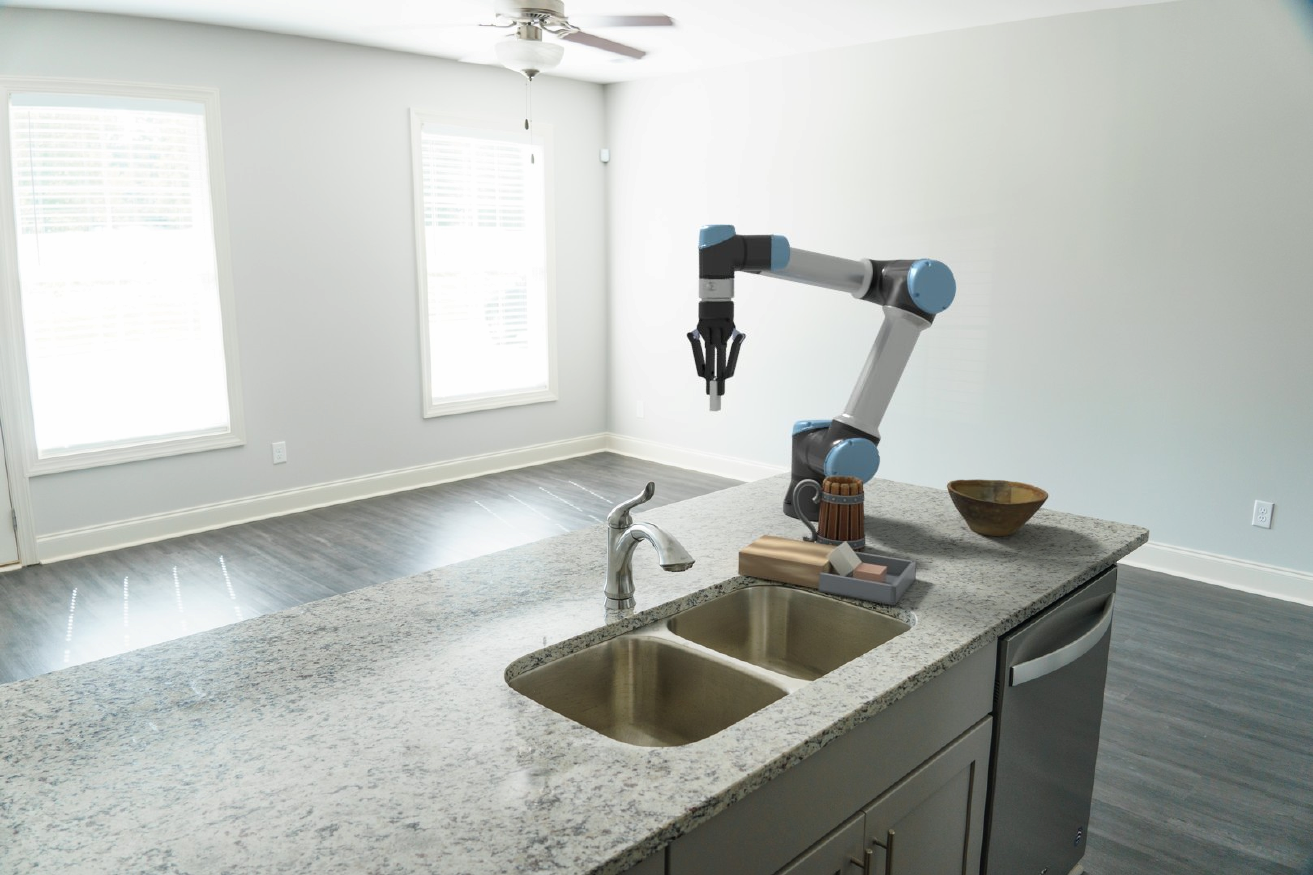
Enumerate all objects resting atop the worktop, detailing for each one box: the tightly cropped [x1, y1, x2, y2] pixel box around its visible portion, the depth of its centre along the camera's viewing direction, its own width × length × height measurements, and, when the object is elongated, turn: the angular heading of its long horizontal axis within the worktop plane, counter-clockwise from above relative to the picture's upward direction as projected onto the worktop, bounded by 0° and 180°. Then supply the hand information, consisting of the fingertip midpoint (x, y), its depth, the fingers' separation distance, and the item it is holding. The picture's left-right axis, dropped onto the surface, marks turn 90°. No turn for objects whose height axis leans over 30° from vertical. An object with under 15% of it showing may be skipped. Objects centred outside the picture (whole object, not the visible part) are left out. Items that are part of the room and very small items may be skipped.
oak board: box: [737, 534, 838, 590], centre depth 175 cm, size 13×17×4 cm
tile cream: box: [826, 541, 861, 576], centre depth 169 cm, size 5×5×3 cm
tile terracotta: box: [853, 563, 887, 584], centre depth 167 cm, size 5×5×3 cm
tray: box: [818, 551, 918, 606], centre depth 168 cm, size 16×14×4 cm
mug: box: [793, 476, 866, 553], centre depth 189 cm, size 16×11×15 cm
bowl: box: [946, 479, 1049, 537], centre depth 202 cm, size 22×23×10 cm
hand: (715, 410), depth 191 cm, fingers closed
